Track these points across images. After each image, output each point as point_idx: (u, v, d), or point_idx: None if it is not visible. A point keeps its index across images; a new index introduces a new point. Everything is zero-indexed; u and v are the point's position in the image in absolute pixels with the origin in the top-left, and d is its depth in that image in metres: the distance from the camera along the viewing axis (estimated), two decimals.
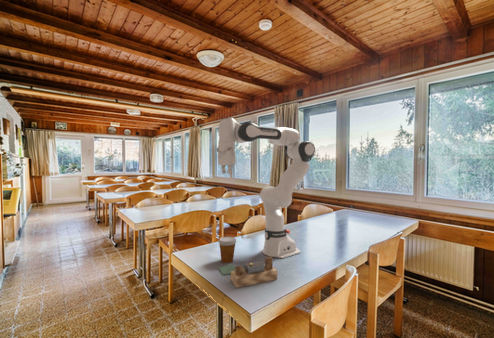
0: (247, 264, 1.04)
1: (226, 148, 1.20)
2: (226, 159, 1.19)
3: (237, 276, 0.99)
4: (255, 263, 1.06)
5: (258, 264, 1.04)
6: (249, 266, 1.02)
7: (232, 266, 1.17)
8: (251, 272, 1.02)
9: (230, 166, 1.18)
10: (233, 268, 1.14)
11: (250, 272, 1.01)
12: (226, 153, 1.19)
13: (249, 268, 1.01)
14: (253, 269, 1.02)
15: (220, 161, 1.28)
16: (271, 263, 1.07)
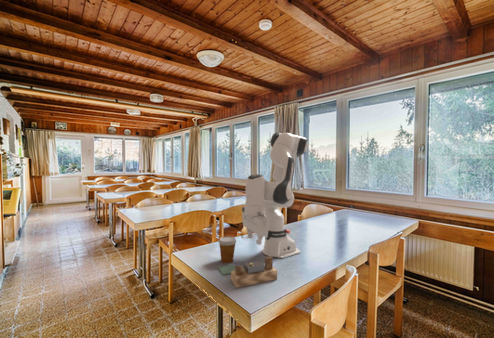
0: (247, 264, 1.04)
1: (255, 213, 1.00)
2: (256, 227, 0.99)
3: (237, 276, 0.99)
4: (255, 263, 1.06)
5: (258, 264, 1.04)
6: (249, 266, 1.02)
7: (232, 266, 1.17)
8: (251, 272, 1.02)
9: None
10: (233, 268, 1.14)
11: (250, 272, 1.01)
12: (256, 220, 0.99)
13: (249, 268, 1.01)
14: (253, 269, 1.02)
15: (246, 223, 1.08)
16: (271, 263, 1.07)
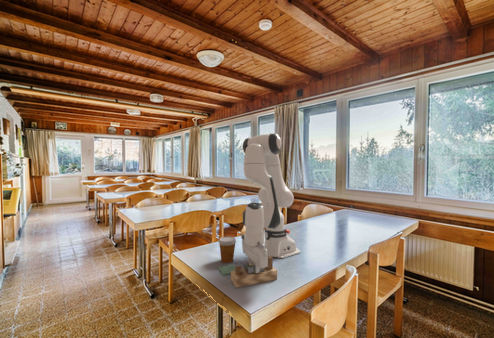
0: (247, 264, 1.04)
1: (255, 243, 1.00)
2: (255, 257, 0.99)
3: (237, 276, 0.99)
4: None
5: None
6: (249, 266, 1.02)
7: (232, 266, 1.17)
8: (251, 272, 1.02)
9: None
10: (233, 268, 1.14)
11: (250, 272, 1.01)
12: (255, 250, 0.99)
13: (249, 268, 1.01)
14: (253, 269, 1.02)
15: (246, 251, 1.08)
16: (271, 263, 1.07)
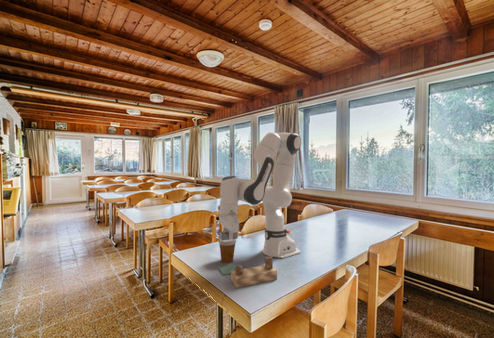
0: (221, 232, 1.13)
1: (228, 211, 1.09)
2: (228, 224, 1.08)
3: (237, 276, 0.99)
4: None
5: None
6: (223, 233, 1.11)
7: (232, 266, 1.17)
8: (224, 238, 1.10)
9: None
10: (233, 268, 1.14)
11: (224, 238, 1.10)
12: (228, 218, 1.07)
13: (223, 235, 1.10)
14: (226, 236, 1.10)
15: (222, 221, 1.17)
16: (271, 263, 1.07)
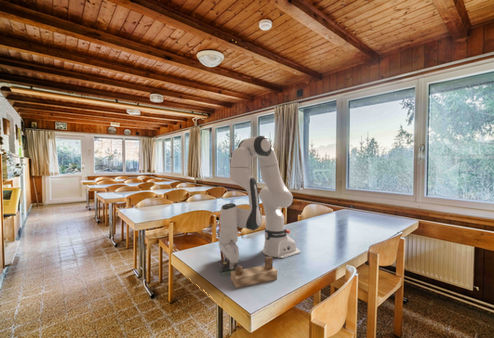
0: (221, 263, 1.13)
1: (228, 241, 1.09)
2: (228, 253, 1.08)
3: (237, 276, 0.99)
4: (229, 262, 1.15)
5: None
6: (223, 265, 1.11)
7: None
8: (224, 270, 1.11)
9: None
10: None
11: (223, 270, 1.10)
12: (228, 247, 1.08)
13: (222, 267, 1.10)
14: (226, 267, 1.11)
15: (222, 248, 1.17)
16: (271, 263, 1.07)
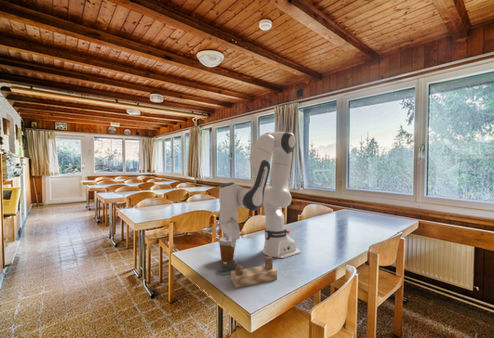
0: (221, 263, 1.13)
1: (228, 218, 1.09)
2: (229, 231, 1.08)
3: (237, 276, 0.99)
4: (229, 262, 1.15)
5: (231, 263, 1.13)
6: (223, 265, 1.11)
7: None
8: (224, 270, 1.11)
9: None
10: None
11: (223, 270, 1.10)
12: (229, 225, 1.08)
13: (222, 267, 1.10)
14: (226, 267, 1.11)
15: (223, 227, 1.17)
16: (271, 263, 1.07)
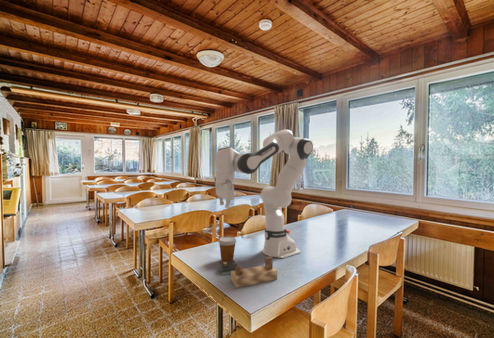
0: (221, 263, 1.13)
1: (224, 180, 1.12)
2: (224, 192, 1.11)
3: (237, 276, 0.99)
4: (229, 262, 1.15)
5: (231, 263, 1.13)
6: (223, 265, 1.11)
7: None
8: (224, 270, 1.11)
9: (228, 200, 1.10)
10: None
11: (223, 270, 1.10)
12: (224, 186, 1.11)
13: (222, 267, 1.10)
14: (226, 267, 1.11)
15: (218, 192, 1.20)
16: (271, 263, 1.07)
